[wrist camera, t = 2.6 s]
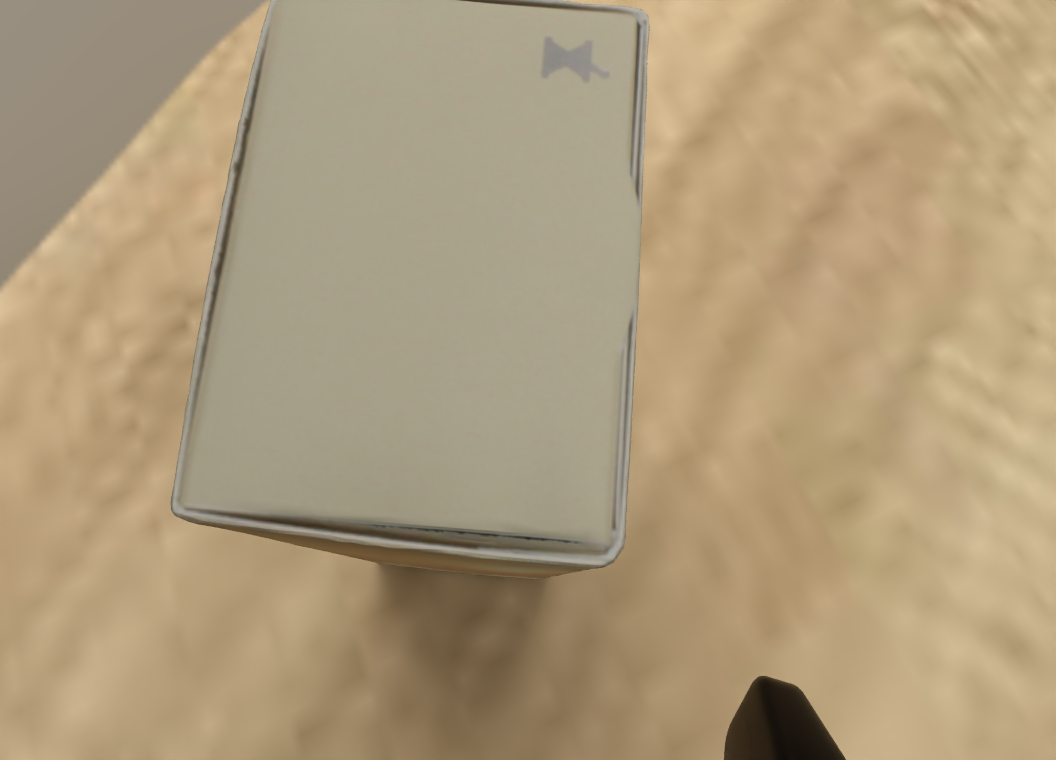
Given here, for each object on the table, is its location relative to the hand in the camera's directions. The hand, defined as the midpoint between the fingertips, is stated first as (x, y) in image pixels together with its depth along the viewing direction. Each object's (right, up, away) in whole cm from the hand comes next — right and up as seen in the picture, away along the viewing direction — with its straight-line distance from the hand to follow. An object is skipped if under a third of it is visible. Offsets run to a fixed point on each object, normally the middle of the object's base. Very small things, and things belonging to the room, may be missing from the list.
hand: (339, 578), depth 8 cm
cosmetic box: (+1, 0, +11) cm, 11 cm away
